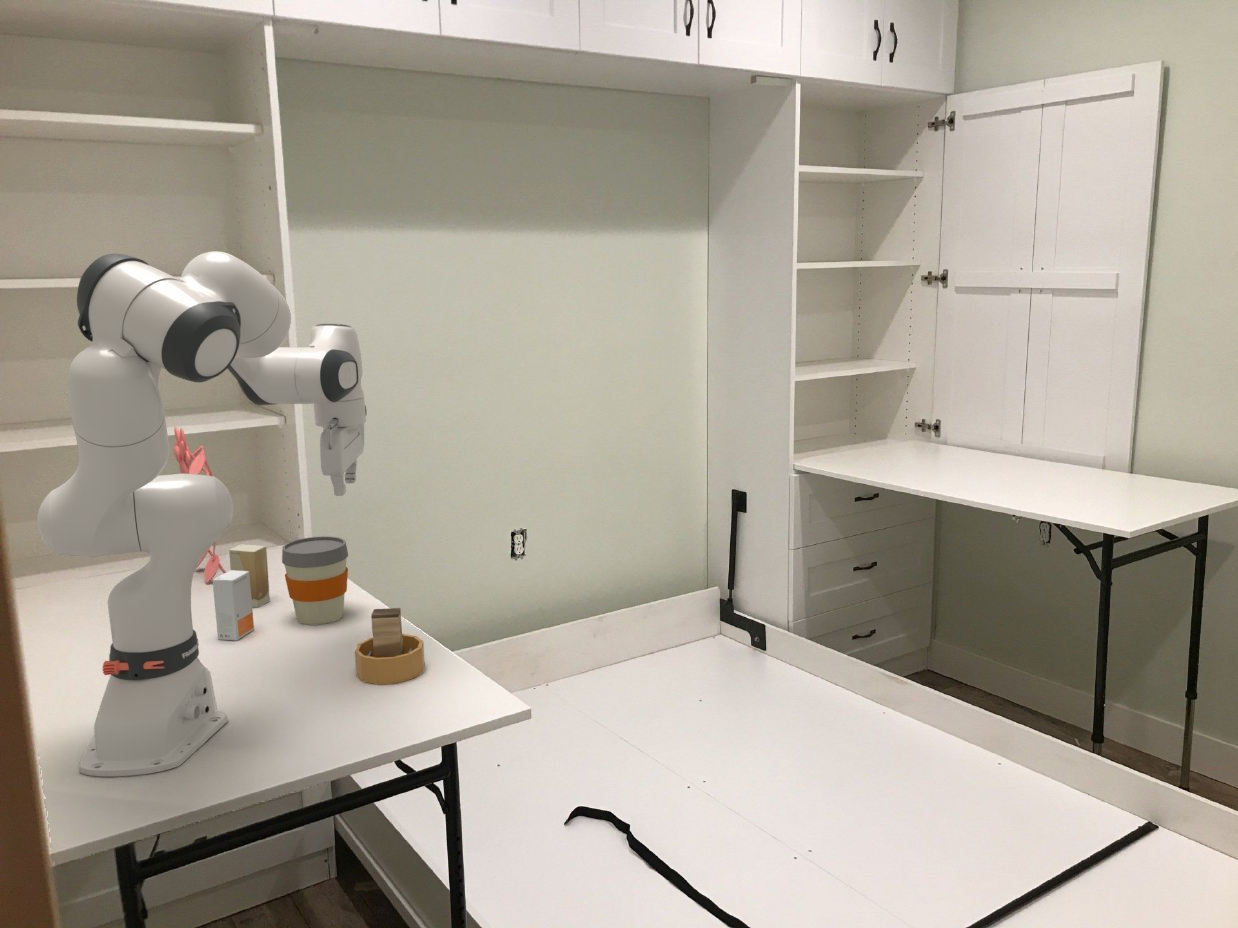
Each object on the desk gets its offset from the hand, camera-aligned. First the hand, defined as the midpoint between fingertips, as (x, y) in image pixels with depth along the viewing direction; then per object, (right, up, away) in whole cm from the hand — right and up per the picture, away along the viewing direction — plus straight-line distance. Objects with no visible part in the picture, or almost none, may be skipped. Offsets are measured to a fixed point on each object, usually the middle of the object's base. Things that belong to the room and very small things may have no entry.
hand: (345, 488), depth 179 cm
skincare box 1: (-27, -25, +26) cm, 45 cm away
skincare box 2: (-23, -28, +9) cm, 38 cm away
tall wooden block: (+10, -31, -10) cm, 34 cm away
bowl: (+10, -31, -9) cm, 34 cm away
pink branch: (-46, -22, +43) cm, 67 cm away
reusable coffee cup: (-10, -26, +17) cm, 33 cm away
